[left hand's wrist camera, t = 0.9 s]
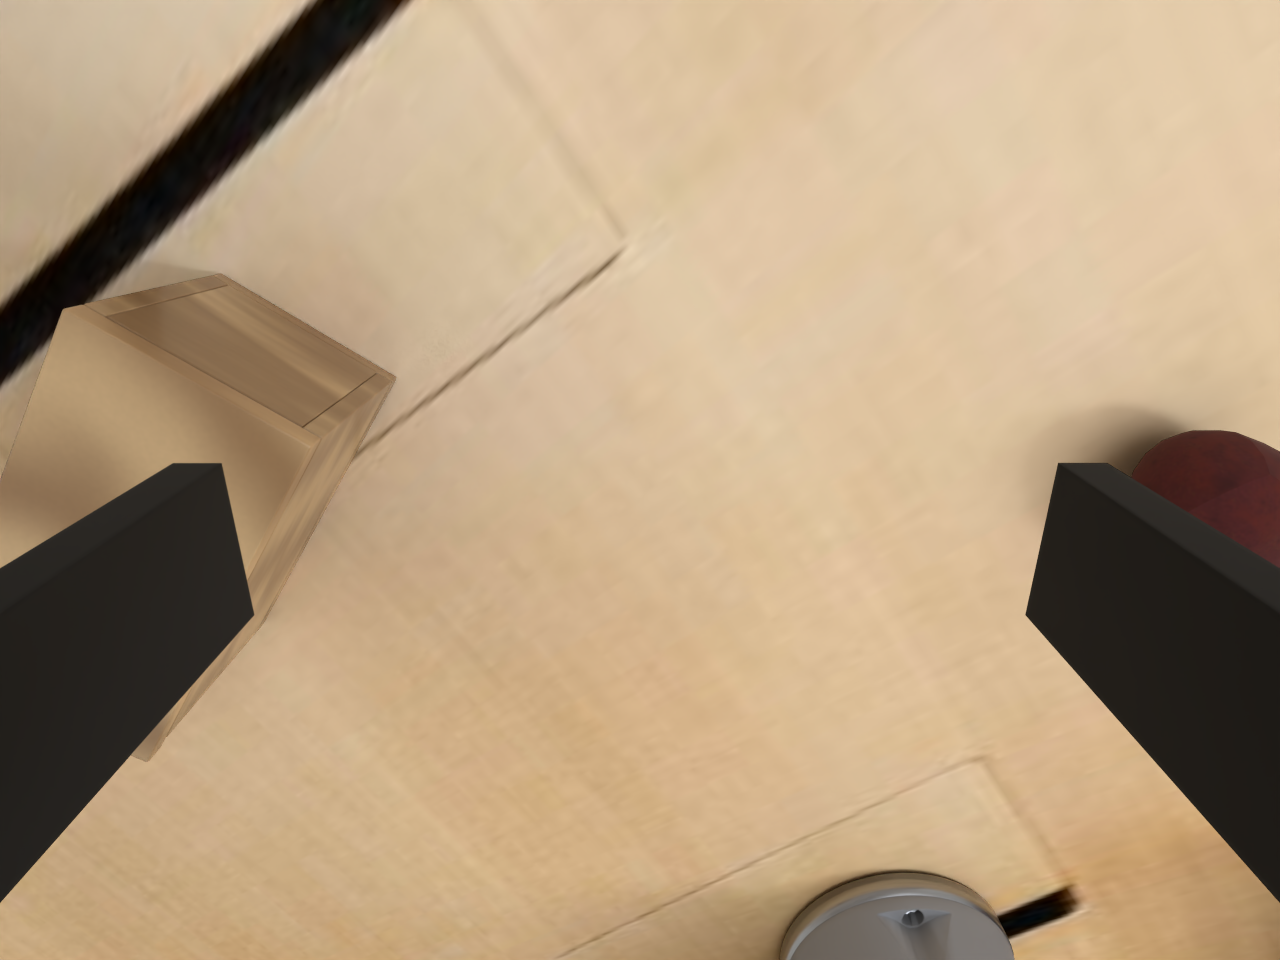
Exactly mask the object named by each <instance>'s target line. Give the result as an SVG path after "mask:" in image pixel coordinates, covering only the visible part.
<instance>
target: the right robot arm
mask: <svg viewBox="0 0 1280 960" xmlns="http://www.w3.org/2000/svg"><path fill="white" fill-rule="evenodd" d="M780 960H1014V954H1013V950H1012V947H1011V944H1010V942H1009V940H1008V938H1007V935H1006V933H1005V931H1004V929H1003V927H1002V925H1001V923H1000V921H999V919H998V917H997V915H996V914H995V912H994V910H993V909H992V908H991V906H990V905H989V904H988V903H987V902H986V901H985V900H984V899H983V898H982V897H981V896H979V895H978V894H977V893H975V892H974V891H972V890H971V889H969V888H967V887H966V886H964V885H961V884H959V883H957V882H955V881H952V880H949V879H946V878H942V877H938V876H933V875H928V874H919V873H890V874H882V875H876V876H871V877H866V878H863V879H859V880H856V881H853V882H850V883H847V884H845V885H842V886H840V887H838V888H836V889H834V890H832V891H830V892H828V893H826V894H825V895H823V896H821V897H820V898H818V899H817V900H816V901H814V902H813V903H812V904H810V905H809V906H808V907H807V908H806V909H805V910H804V911H803V912H802V913H801V914H800V915H799V916H798V917H797V918H796V919H795V921H794V922H793V924H792V925H791V926H790V928H789V930H788V932H787V933H786V936H785V938H784V940H783V943H782V947H781V952H780Z"/></svg>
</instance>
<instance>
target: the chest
mask: <svg viewBox="0 0 1280 960" xmlns="http://www.w3.org/2000/svg"><path fill="white" fill-rule="evenodd" d="M84 306H86V307H88V308H90V309H91V310H93V311H95V312H97V313H99V314H100V315H102V316H104V317H106V318H107V319H109V320H111V321H113V322H115V323H116V324H118V325H120V326H122V327H123V328H125V329H127V330H129V331H131V332H132V333H134V334H136V335H138V336H140V337H141V338H143V339H145V340H147V341H148V342H150V343H152V344H154V345H156V346H157V347H159V348H161V349H163V350H164V351H166V352H168V353H170V354H172V355H173V356H175V357H177V358H179V359H180V360H182V361H184V362H186V363H188V364H189V365H191V366H193V367H195V368H197V369H198V370H200V371H202V372H204V373H205V374H207V375H209V376H211V377H213V378H214V379H216V380H218V381H220V382H221V383H223V384H225V385H227V386H229V387H230V388H232V389H234V390H236V391H237V392H239V393H241V394H243V395H245V396H246V397H248V398H250V399H252V400H254V401H255V402H257V403H259V404H261V405H262V406H264V407H266V408H268V409H270V410H271V411H273V412H275V413H277V414H278V415H280V416H282V417H284V418H286V419H287V420H289V421H291V422H293V423H294V424H296V425H298V426H300V427H302V428H303V429H305V430H307V431H309V432H311V433H312V434H314V435H316V436H318V437H319V438H320V442H319V444H318V446H317V448H316V450H315V452H314V454H313V456H312V457H311V459H310V461H309V463H308V465H307V467H306V469H305V471H304V473H303V475H302V477H301V479H300V481H299V482H298V484H297V486H296V488H295V490H294V492H293V494H292V496H291V498H290V500H289V502H288V504H287V505H286V507H285V509H284V511H283V513H282V515H281V517H280V519H279V521H278V523H277V525H276V527H275V528H274V530H273V532H272V534H271V536H270V538H269V540H268V542H267V544H266V546H265V548H264V550H263V551H262V553H261V555H260V557H259V559H258V561H257V563H256V565H255V567H254V569H253V571H252V573H251V574H250V576H249V578H248V580H247V582H248V587H249V592H250V596H251V601H252V606H253V610H254V616H253V617H252V618H251V620H250V621H249V622H248V623H247V624H246V625H245V626H244V627H243V629H242V630H241V631H240V632H239V633H238V634H237V635H236V636H235V638H234V639H233V640H232V641H231V642H230V643H229V644H228V646H227V647H226V648H225V649H224V650H223V651H222V652H221V653H220V655H219V656H218V657H217V658H216V659H215V660H214V661H213V662H212V664H211V665H210V666H209V667H208V668H207V669H206V670H205V672H204V673H203V674H202V675H201V676H200V677H199V678H198V679H197V681H196V682H195V683H194V684H193V686H192V688H191V690H190V692H189V693H188V695H187V697H186V699H185V701H184V703H183V705H182V707H181V709H180V711H179V713H178V715H177V716H176V718H175V720H174V722H173V724H172V726H171V728H170V730H169V732H168V734H167V736H168V735H169V734H170V733H171V731H172V730H173V729H174V728H175V727H176V725H177V724H178V723H179V722H180V721H181V720H182V718H183V717H184V716H185V715H186V714H187V713H188V711H189V710H190V709H191V708H192V707H193V706H194V704H195V703H196V702H197V701H198V700H199V698H200V697H201V696H202V695H203V694H204V693H205V691H206V690H207V689H208V688H209V687H210V686H211V684H212V683H213V682H214V681H215V680H216V679H217V677H218V676H219V675H220V674H221V673H222V671H223V670H224V669H225V668H226V667H227V666H228V664H229V663H230V662H231V661H232V660H233V659H234V657H235V656H236V655H237V654H238V653H239V652H240V650H241V649H242V648H243V647H244V646H245V644H246V643H247V642H248V641H249V640H250V639H251V637H252V636H253V635H254V634H255V633H256V632H257V630H258V629H259V628H260V627H261V626H262V625H263V623H264V621H265V620H266V618H267V616H268V614H269V612H270V610H271V609H272V607H273V605H274V603H275V601H276V599H277V598H278V596H279V594H280V592H281V590H282V588H283V586H284V585H285V583H286V581H287V579H288V577H289V575H290V574H291V572H292V570H293V568H294V566H295V564H296V563H297V561H298V559H299V557H300V555H301V553H302V551H303V550H304V548H305V546H306V544H307V542H308V540H309V539H310V537H311V535H312V533H313V531H314V529H315V528H316V526H317V524H318V522H319V520H320V518H321V516H322V515H323V513H324V511H325V509H326V507H327V505H328V504H329V502H330V500H331V498H332V496H333V494H334V493H335V491H336V489H337V487H338V485H339V483H340V481H341V480H342V478H343V476H344V474H345V472H346V470H347V469H348V467H349V465H350V463H351V461H352V459H353V458H354V456H355V454H356V452H357V450H358V448H359V446H360V445H361V443H362V441H363V439H364V437H365V435H366V434H367V432H368V430H369V428H370V426H371V424H372V423H373V421H374V419H375V417H376V415H377V413H378V411H379V410H380V408H381V406H382V404H383V402H384V400H385V399H386V397H387V395H388V393H389V391H390V389H391V388H392V386H393V384H394V382H395V380H396V377H395V376H393V375H392V374H390V373H388V372H386V371H385V370H383V369H381V368H380V367H378V366H376V365H375V364H373V363H371V362H370V361H368V360H366V359H364V358H363V357H361V356H359V355H358V354H356V353H354V352H353V351H351V350H349V349H348V348H346V347H344V346H343V345H341V344H339V343H337V342H336V341H334V340H332V339H331V338H329V337H327V336H326V335H324V334H322V333H321V332H319V331H317V330H315V329H314V328H312V327H310V326H309V325H307V324H305V323H304V322H302V321H300V320H299V319H297V318H295V317H293V316H292V315H290V314H288V313H287V312H285V311H283V310H282V309H280V308H278V307H277V306H275V305H273V304H271V303H270V302H268V301H266V300H265V299H263V298H261V297H260V296H258V295H256V294H255V293H253V292H251V291H249V290H248V289H246V288H244V287H243V286H241V285H239V284H238V283H236V282H234V281H233V280H231V279H229V278H228V277H226V276H224V275H222V274H217V275H213V276H208V277H203V278H199V279H194V280H190V281H185V282H181V283H176V284H172V285H167V286H163V287H158V288H154V289H149V290H145V291H140V292H136V293H131V294H127V295H122V296H118V297H113V298H109V299H104V300H100V301H95V302H91V303H86V304H84ZM167 736H166V737H167Z"/></svg>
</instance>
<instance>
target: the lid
mask: <svg viewBox="0 0 1280 960" xmlns="http://www.w3.org/2000/svg"><path fill="white" fill-rule="evenodd" d="M319 442H320V438H319V437H318V436H316V435H314V434H312V433H311V432H309V431H307V430H305V429H303V428H302V427H300V426H298V425H296V424H294V423H293V422H291V421H289V420H287V419H286V418H284V417H282V416H280V415H278V414H277V413H275V412H273V411H271V410H270V409H268V408H266V407H264V406H262V405H261V404H259V403H257V402H255V401H254V400H252V399H250V398H248V397H246V396H245V395H243V394H241V393H239V392H237V391H236V390H234V389H232V388H230V387H229V386H227V385H225V384H223V383H221V382H220V381H218V380H216V379H214V378H213V377H211V376H209V375H207V374H205V373H204V372H202V371H200V370H198V369H197V368H195V367H193V366H191V365H189V364H188V363H186V362H184V361H182V360H180V359H179V358H177V357H175V356H173V355H172V354H170V353H168V352H166V351H164V350H163V349H161V348H159V347H157V346H156V345H154V344H152V343H150V342H148V341H147V340H145V339H143V338H141V337H140V336H138V335H136V334H134V333H132V332H131V331H129V330H127V329H125V328H123V327H122V326H120V325H118V324H116V323H115V322H113V321H111V320H109V319H107V318H106V317H104V316H102V315H100V314H99V313H97V312H95V311H93V310H91V309H90V308H88V307H86V306H84V305H79V306H74V307H70V308H65V309H63V310H62V313H61V316H60V319H59V321H58V324H57V327H56V329H55V332H54V335H53V338H52V340H51V343H50V346H49V349H48V351H47V354H46V357H45V359H44V362H43V365H42V368H41V370H40V373H39V376H38V379H37V381H36V384H35V387H34V390H33V392H32V395H31V398H30V400H29V403H28V406H27V409H26V411H25V414H24V417H23V420H22V422H21V425H20V428H19V430H18V433H17V436H16V439H15V441H14V444H13V447H12V450H11V452H10V455H9V458H8V461H7V463H6V466H5V469H4V471H3V474H2V477H1V480H0V568H1V567H3V566H5V565H6V564H8V563H9V562H11V561H13V560H14V559H16V558H18V557H19V556H21V555H23V554H24V553H26V552H28V551H29V550H31V549H33V548H34V547H36V546H37V545H39V544H41V543H42V542H44V541H46V540H47V539H49V538H51V537H52V536H54V535H56V534H57V533H59V532H60V531H62V530H64V529H65V528H67V527H69V526H70V525H72V524H74V523H75V522H77V521H79V520H80V519H82V518H83V517H85V516H87V515H88V514H90V513H92V512H93V511H95V510H97V509H98V508H100V507H102V506H103V505H105V504H106V503H108V502H110V501H111V500H113V499H115V498H116V497H118V496H120V495H121V494H123V493H125V492H126V491H128V490H129V489H131V488H133V487H134V486H136V485H138V484H139V483H141V482H143V481H144V480H146V479H148V478H149V477H151V476H152V475H154V474H156V473H157V472H159V471H161V470H162V469H164V468H166V467H167V466H169V465H171V464H172V463H222V467H223V471H224V476H225V480H226V485H227V490H228V494H229V499H230V504H231V508H232V513H233V518H234V522H235V527H236V531H237V536H238V541H239V545H240V550H241V555H242V559H243V564H244V569H245V573H246V578H247V580H248V578H249V576H250V574H251V573H252V571H253V569H254V567H255V565H256V563H257V561H258V559H259V557H260V555H261V553H262V551H263V550H264V548H265V546H266V544H267V542H268V540H269V538H270V536H271V534H272V532H273V530H274V528H275V527H276V525H277V523H278V521H279V519H280V517H281V515H282V513H283V511H284V509H285V507H286V505H287V504H288V502H289V500H290V498H291V496H292V494H293V492H294V490H295V488H296V486H297V484H298V482H299V481H300V479H301V477H302V475H303V473H304V471H305V469H306V467H307V465H308V463H309V461H310V459H311V457H312V456H313V454H314V452H315V450H316V448H317V446H318V444H319ZM192 686H193V685H192ZM192 686H191V687H190V689H189V690H188V691H187V692H186V693H185V694H184V695H183V696H182V698H181V699H180V700H179V701H178V702H177V703H176V704H175V705H174V707H173V708H172V709H171V710H170V711H169V712H168V713H167V715H166V716H165V717H164V718H163V719H162V720H161V721H160V722H159V724H158V725H157V726H156V727H155V728H154V729H153V730H152V732H151V733H150V734H149V735H148V736H147V737H146V738H145V739H144V741H143V742H142V743H141V744H140V745H139V746H138V747H137V748H136V750H135V751H134V752H133V753H132V754H131V755H132V756H134V757H136V758H138V759H141V760H143V761H145V762H148V761H149V760H150V759H151V758H152V757H153V755H154V754H155V753H156V752H157V751H158V749H159V748H160V747H161V745H162V743H163V741H164V739H165V738H166V736H167V734H168V732H169V730H170V728H171V726H172V724H173V722H174V720H175V718H176V716H177V715H178V713H179V711H180V709H181V707H182V705H183V703H184V701H185V699H186V697H187V695H188V693H189V692H190V690H191V688H192Z"/></svg>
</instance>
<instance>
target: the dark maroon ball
mask: <svg viewBox="0 0 1280 960" xmlns="http://www.w3.org/2000/svg"><path fill="white" fill-rule="evenodd" d="M1131 478H1132V479H1134V480H1136V481H1137V482H1139V483H1141V484H1142V485H1144V486H1146V487H1147V488H1149V489H1151V490H1152V491H1154V492H1155V493H1157V494H1159V495H1160V496H1162V497H1164V498H1165V499H1167V500H1169V501H1170V502H1172V503H1174V504H1175V505H1177V506H1178V507H1180V508H1182V509H1183V510H1185V511H1187V512H1188V513H1190V514H1192V515H1193V516H1195V517H1197V518H1198V519H1200V520H1201V521H1203V522H1205V523H1206V524H1208V525H1210V526H1211V527H1213V528H1215V529H1216V530H1218V531H1220V532H1221V533H1223V534H1224V535H1226V536H1228V537H1229V538H1231V539H1233V540H1234V541H1236V542H1238V543H1239V544H1241V545H1243V546H1244V547H1246V548H1247V549H1249V550H1251V551H1252V552H1254V553H1256V554H1257V555H1259V556H1261V557H1262V558H1264V559H1266V560H1267V561H1269V562H1271V563H1272V564H1274V565H1275V566H1277V567H1279V568H1280V451H1278V450H1276V449H1274V448H1272V447H1270V446H1268V445H1266V444H1264V443H1262V442H1259V441H1257V440H1254V439H1252V438H1249V437H1246V436H1244V435H1241V434H1239V433H1236V432H1229V431H1221V430H1209V431H1189V432H1185V433H1181V434H1179V435H1176V436H1173V437H1171V438H1168V439H1165V440H1163V441H1161V442H1160V443H1159V444H1157V445H1156V446H1155V447H1154V448H1152V449H1151V450H1150V451H1148V452H1147V453H1146V454H1145V455H1144V457H1143V458H1142V460H1141V461H1140V462H1139V464H1138V465H1137V467H1136V468H1135V470H1134V471H1133V474H1132V477H1131Z"/></svg>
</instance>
